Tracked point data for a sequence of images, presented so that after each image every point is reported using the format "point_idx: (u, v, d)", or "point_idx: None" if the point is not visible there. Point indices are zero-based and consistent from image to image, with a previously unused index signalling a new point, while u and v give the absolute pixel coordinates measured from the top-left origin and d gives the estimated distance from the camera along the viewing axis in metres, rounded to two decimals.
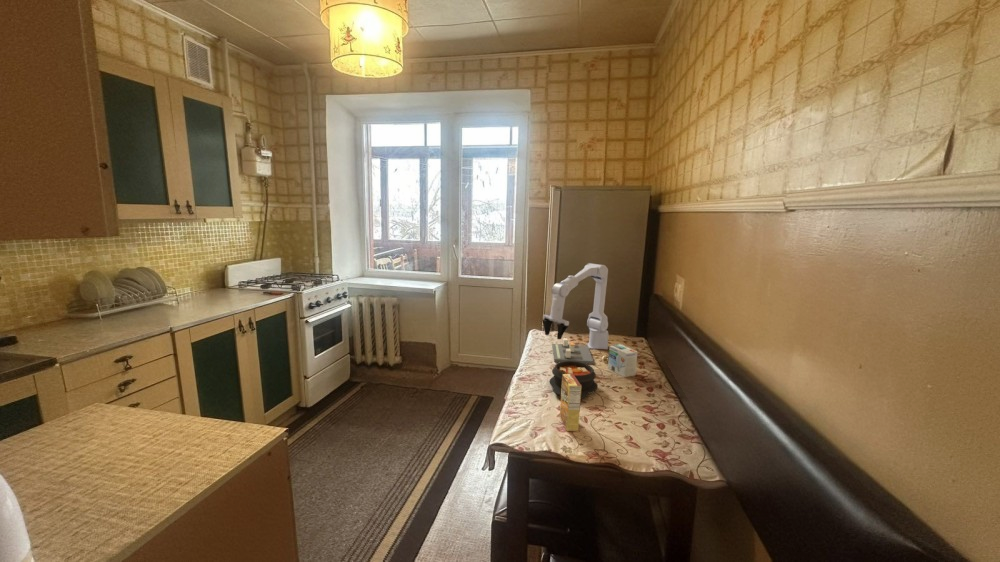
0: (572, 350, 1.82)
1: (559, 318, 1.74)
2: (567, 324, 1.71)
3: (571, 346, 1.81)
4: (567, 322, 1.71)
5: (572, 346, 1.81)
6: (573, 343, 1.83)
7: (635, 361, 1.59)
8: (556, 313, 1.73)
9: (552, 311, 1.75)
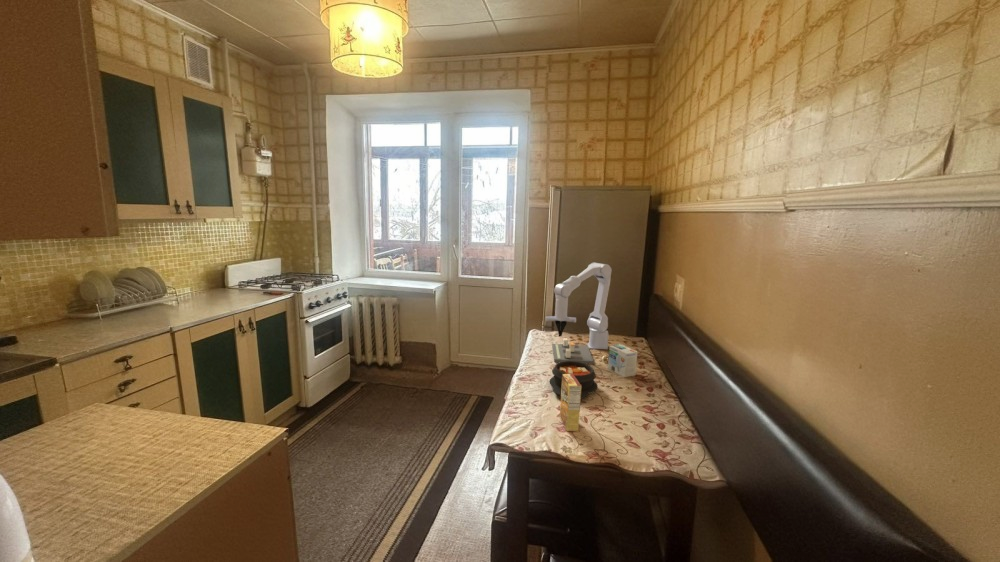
0: (572, 350, 1.82)
1: (566, 317, 1.80)
2: (575, 320, 1.81)
3: (571, 346, 1.81)
4: None
5: (572, 346, 1.81)
6: (573, 343, 1.83)
7: (635, 361, 1.59)
8: (565, 313, 1.78)
9: (560, 312, 1.78)
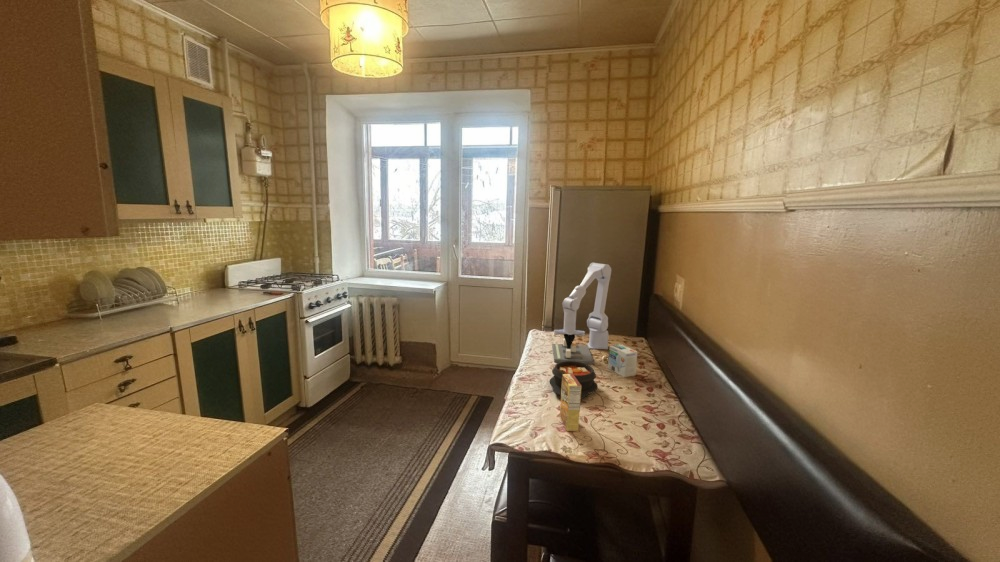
0: (574, 350, 1.82)
1: (575, 330, 1.81)
2: None
3: (573, 346, 1.81)
4: None
5: (574, 346, 1.81)
6: (575, 343, 1.83)
7: (635, 361, 1.59)
8: (573, 327, 1.79)
9: (569, 326, 1.79)
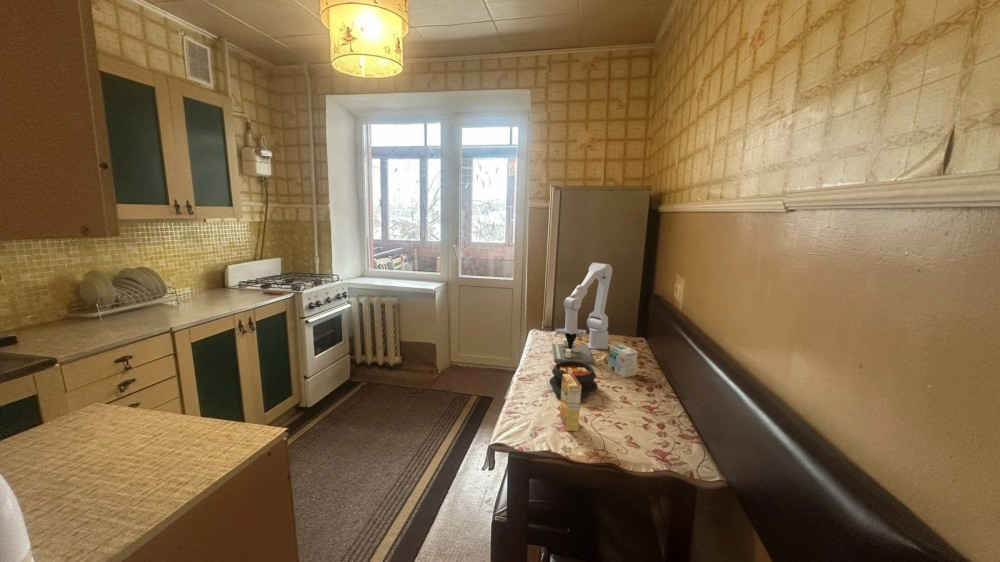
0: (577, 350, 1.81)
1: (576, 330, 1.81)
2: (585, 333, 1.81)
3: (576, 346, 1.81)
4: (585, 331, 1.81)
5: (577, 346, 1.81)
6: (578, 343, 1.83)
7: (635, 361, 1.59)
8: (575, 326, 1.79)
9: (570, 325, 1.78)
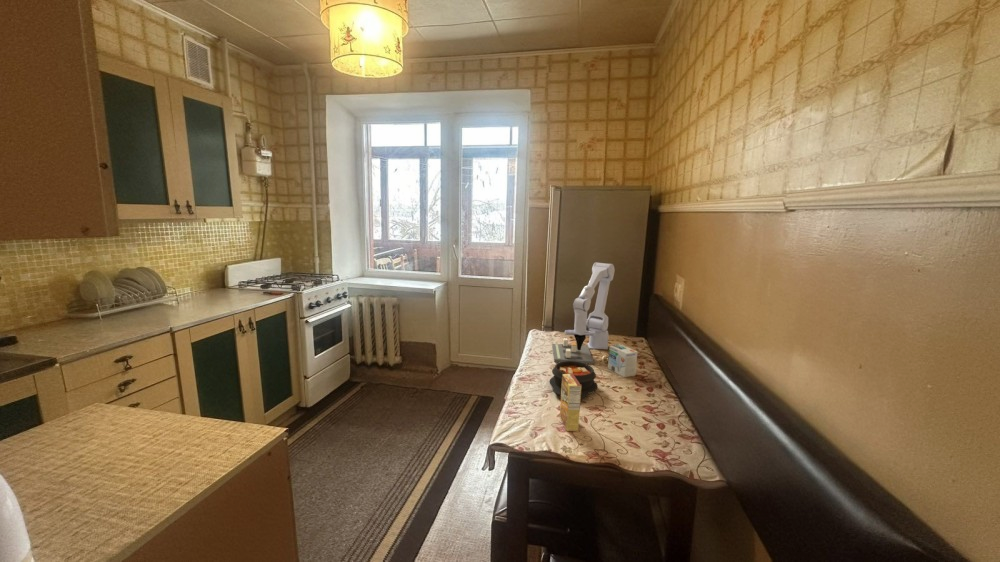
0: (574, 350, 1.82)
1: (586, 331, 1.80)
2: None
3: (573, 346, 1.81)
4: (595, 333, 1.81)
5: (574, 346, 1.81)
6: (575, 343, 1.83)
7: (635, 361, 1.59)
8: (584, 327, 1.78)
9: (580, 326, 1.78)
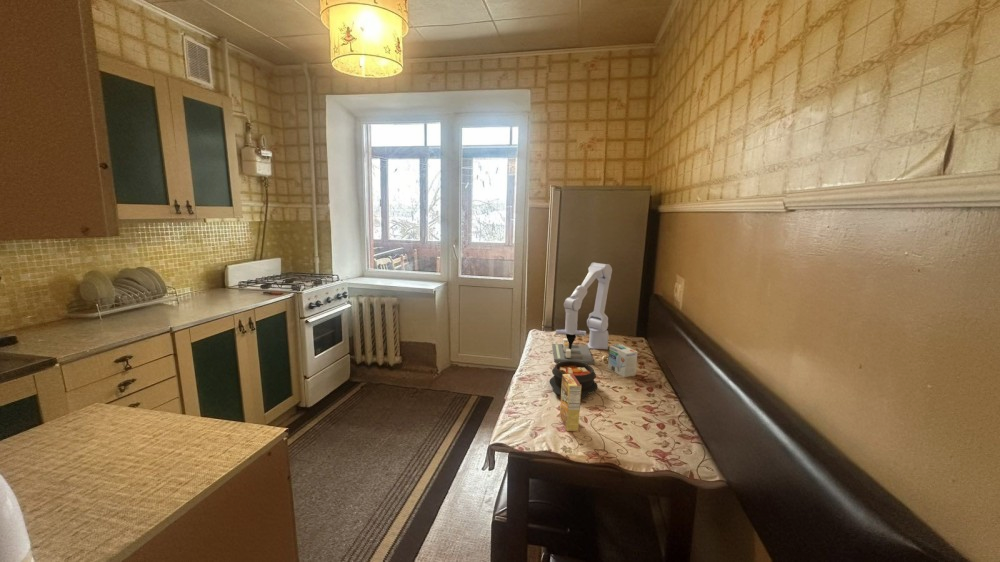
0: None
1: (576, 330, 1.81)
2: (585, 334, 1.81)
3: (565, 346, 1.82)
4: (585, 332, 1.81)
5: (566, 346, 1.82)
6: (567, 343, 1.83)
7: (635, 361, 1.59)
8: (575, 327, 1.79)
9: (571, 326, 1.79)
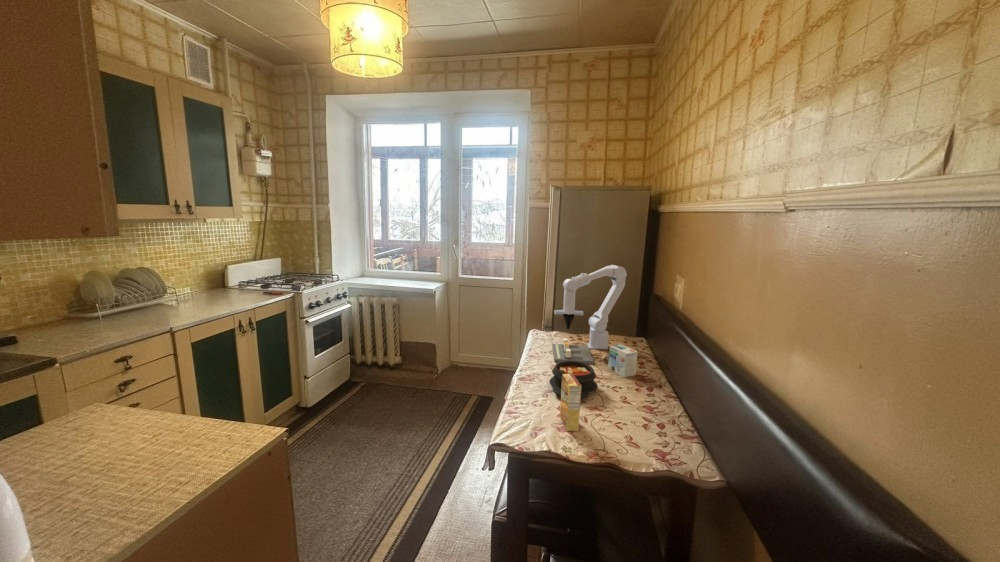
0: None
1: (574, 310, 1.89)
2: None
3: (566, 346, 1.82)
4: None
5: (567, 346, 1.82)
6: (568, 343, 1.83)
7: (635, 361, 1.59)
8: (572, 307, 1.88)
9: (568, 306, 1.87)
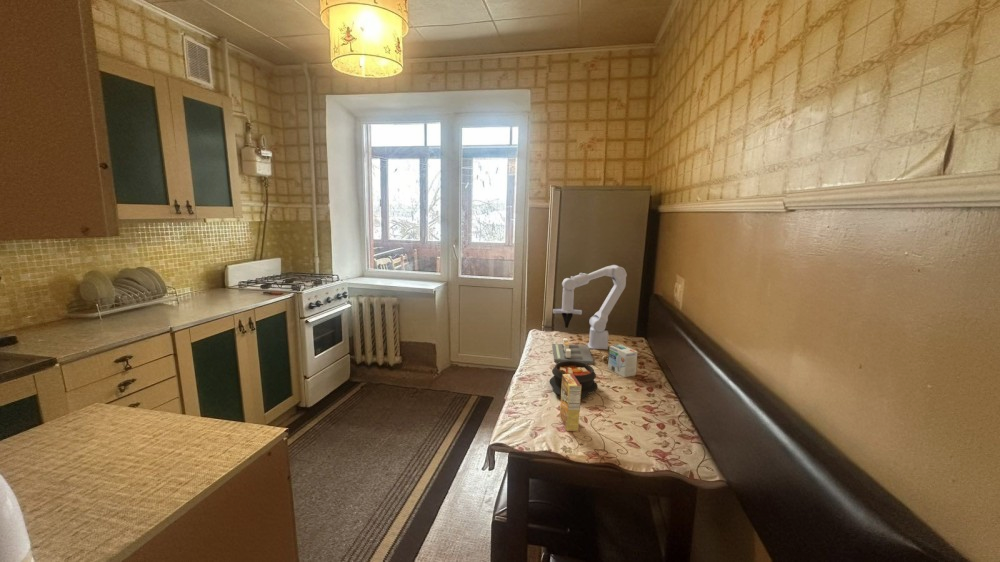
0: None
1: (572, 309, 1.91)
2: None
3: (566, 346, 1.82)
4: (581, 311, 1.92)
5: (567, 346, 1.82)
6: (568, 343, 1.83)
7: (635, 361, 1.59)
8: (571, 306, 1.90)
9: (567, 305, 1.89)
